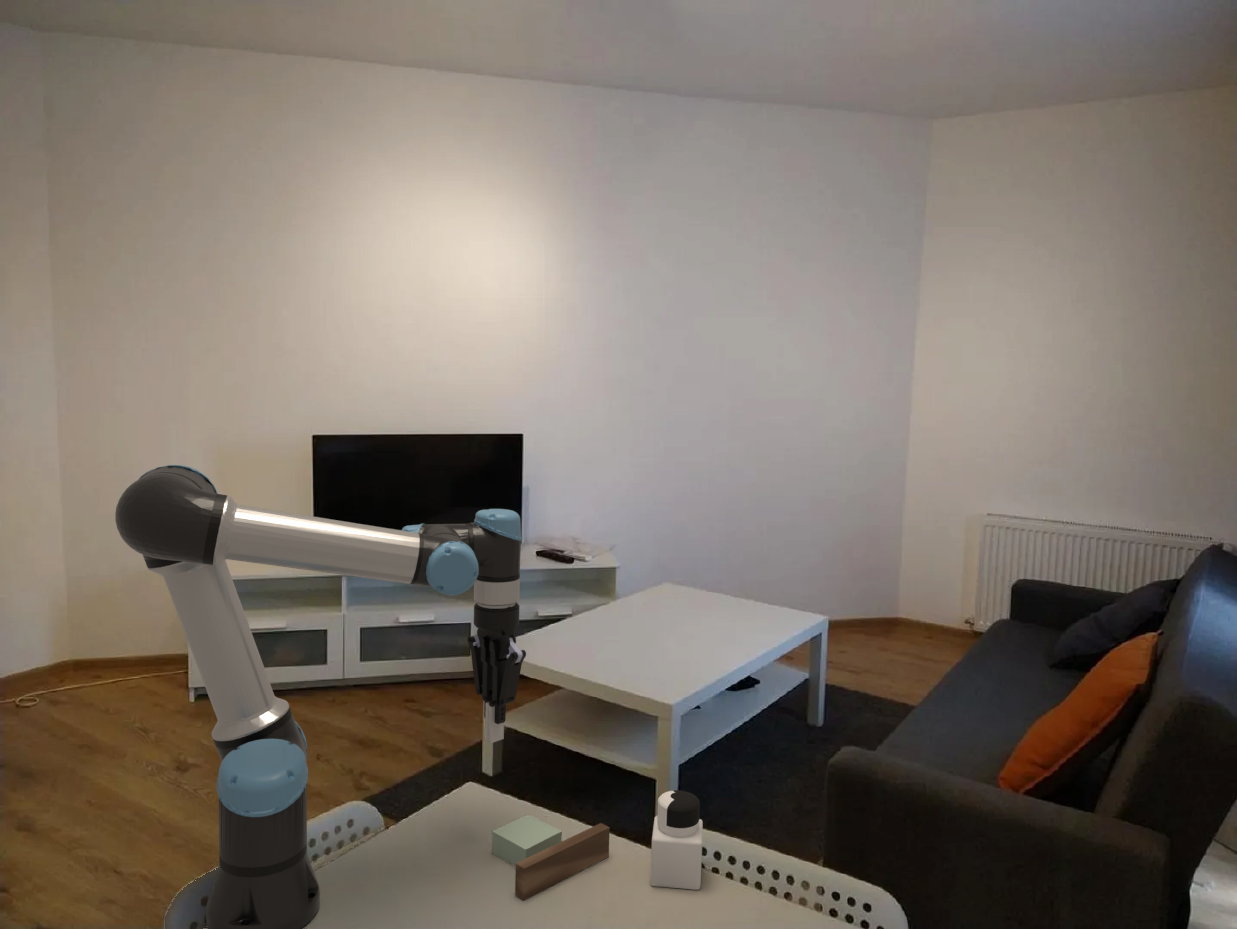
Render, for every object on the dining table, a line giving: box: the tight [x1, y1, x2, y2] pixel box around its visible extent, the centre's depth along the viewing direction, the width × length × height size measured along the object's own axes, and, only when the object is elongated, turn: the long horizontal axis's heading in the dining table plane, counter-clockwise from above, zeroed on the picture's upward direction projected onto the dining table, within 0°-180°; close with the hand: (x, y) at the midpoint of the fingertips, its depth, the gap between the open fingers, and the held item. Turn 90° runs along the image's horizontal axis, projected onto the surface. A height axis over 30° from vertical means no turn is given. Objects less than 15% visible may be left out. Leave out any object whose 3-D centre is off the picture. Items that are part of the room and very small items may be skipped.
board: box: [514, 822, 611, 901], centre depth 141 cm, size 2×18×5 cm, turn 136°
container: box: [649, 789, 704, 891], centre depth 142 cm, size 8×8×13 cm
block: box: [491, 813, 563, 867], centre depth 147 cm, size 8×8×4 cm
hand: (494, 739), depth 152 cm, fingers closed
